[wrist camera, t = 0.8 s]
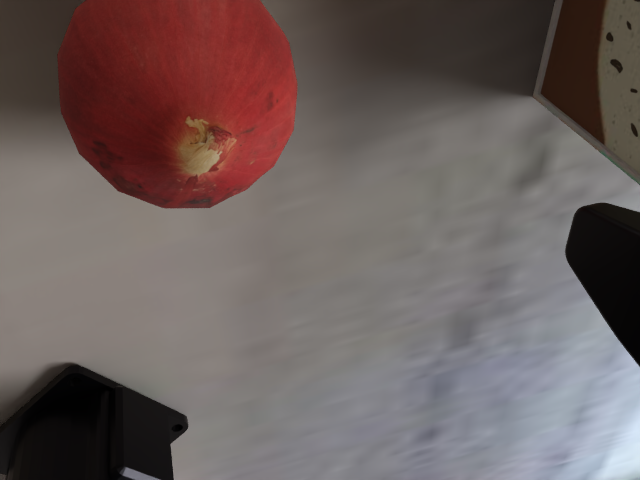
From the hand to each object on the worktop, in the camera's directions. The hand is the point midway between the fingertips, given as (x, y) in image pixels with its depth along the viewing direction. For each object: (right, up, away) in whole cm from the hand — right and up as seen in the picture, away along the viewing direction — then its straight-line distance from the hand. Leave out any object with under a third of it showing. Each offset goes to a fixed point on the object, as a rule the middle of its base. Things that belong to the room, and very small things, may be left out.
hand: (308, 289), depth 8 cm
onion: (-4, +7, +9) cm, 12 cm away
